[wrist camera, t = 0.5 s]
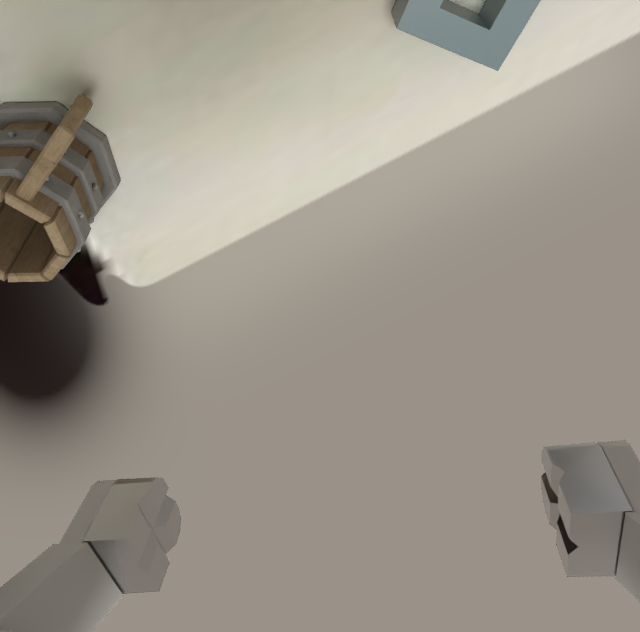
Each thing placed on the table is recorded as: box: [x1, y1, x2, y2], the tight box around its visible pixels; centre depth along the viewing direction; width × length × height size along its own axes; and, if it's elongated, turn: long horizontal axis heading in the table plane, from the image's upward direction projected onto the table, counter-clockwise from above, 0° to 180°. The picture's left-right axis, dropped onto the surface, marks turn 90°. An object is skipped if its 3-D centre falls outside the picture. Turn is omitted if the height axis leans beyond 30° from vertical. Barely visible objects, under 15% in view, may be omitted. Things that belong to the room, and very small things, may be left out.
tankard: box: [0, 94, 121, 282], centre depth 50 cm, size 20×13×15 cm, turn 136°
